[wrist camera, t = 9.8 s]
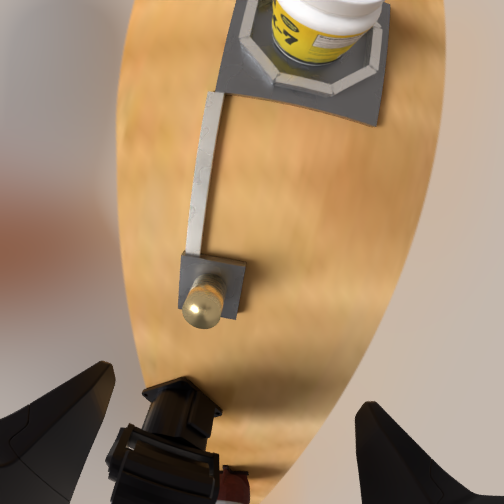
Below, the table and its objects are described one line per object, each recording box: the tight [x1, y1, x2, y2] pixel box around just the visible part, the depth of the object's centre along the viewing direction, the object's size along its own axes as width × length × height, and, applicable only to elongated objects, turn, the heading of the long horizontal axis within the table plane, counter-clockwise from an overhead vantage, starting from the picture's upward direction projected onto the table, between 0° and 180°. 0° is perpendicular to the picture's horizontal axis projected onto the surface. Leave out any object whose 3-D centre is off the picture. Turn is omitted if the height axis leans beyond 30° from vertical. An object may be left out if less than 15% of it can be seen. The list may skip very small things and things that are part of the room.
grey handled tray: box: [178, 0, 390, 329], centre depth 14 cm, size 25×11×4 cm, turn 170°
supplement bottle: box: [271, 0, 385, 66], centre depth 9 cm, size 5×5×8 cm
